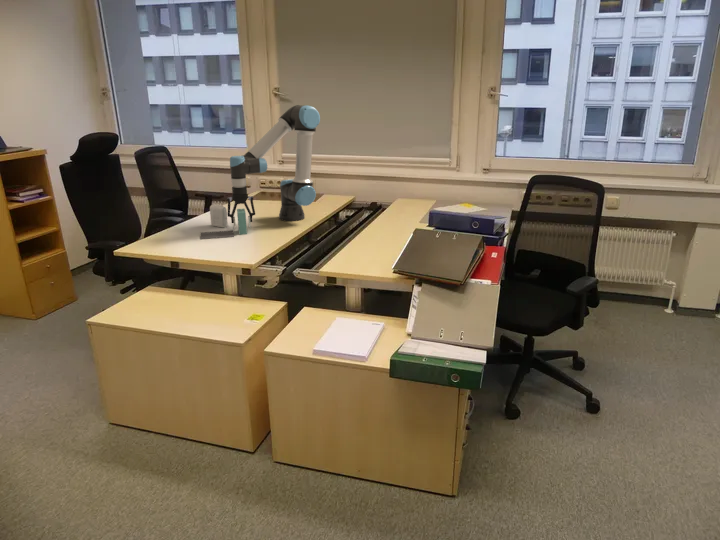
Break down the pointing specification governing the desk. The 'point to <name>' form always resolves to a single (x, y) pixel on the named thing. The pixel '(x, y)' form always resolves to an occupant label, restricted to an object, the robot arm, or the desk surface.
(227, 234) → the mat
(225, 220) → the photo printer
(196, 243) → the desk surface
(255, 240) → the desk surface
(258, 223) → the desk surface
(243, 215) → the block
